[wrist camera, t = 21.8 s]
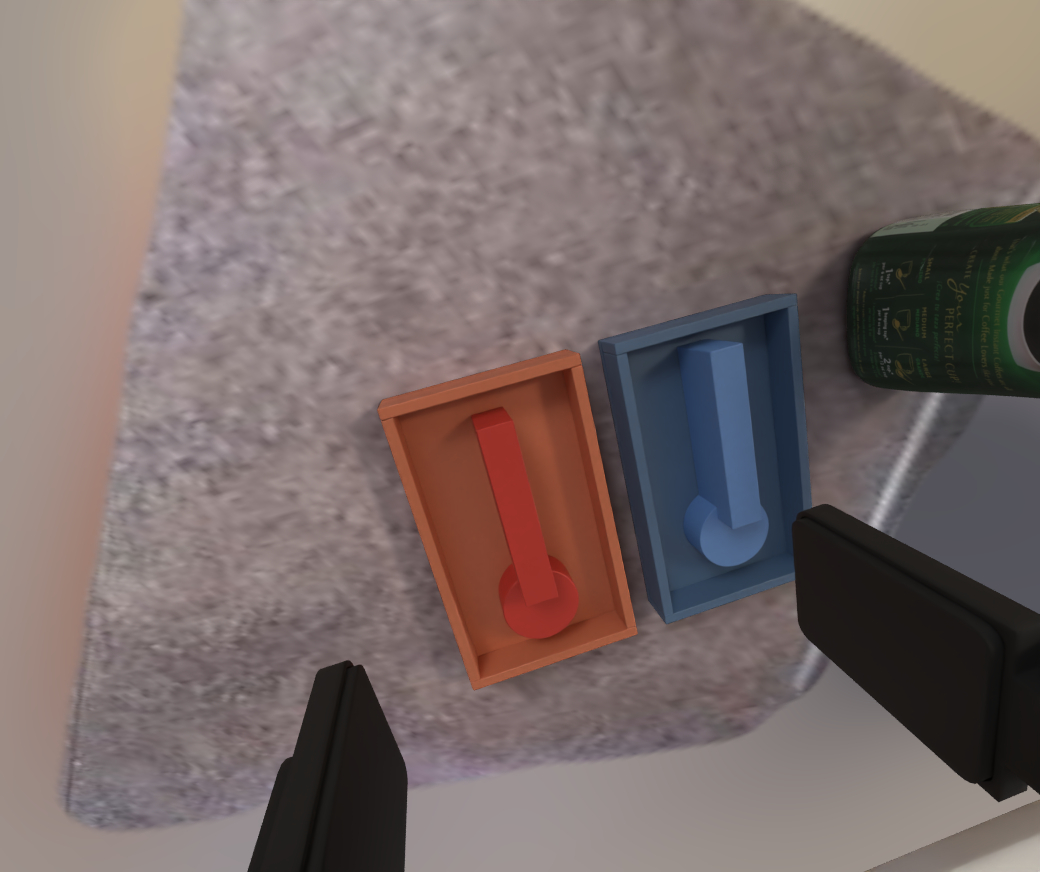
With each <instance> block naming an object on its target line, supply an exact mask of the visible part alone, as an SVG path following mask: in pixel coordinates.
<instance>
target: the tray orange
mask: <svg viewBox="0 0 1040 872" xmlns="http://www.w3.org/2000/svg"><path fill="white" fill-rule="evenodd" d="M581 364H582V363H581V358H580V354H579V353H576V352H572V351H569V350H566V349H565V350H562V351H558V352H554V353H551V354H547V355H543V356H540V357H536V358H533V359H529V360H525V361H522V362H518V363H514V364H511V365H507V366H503V367H500V368H496V369H492V370H489V371H485V372H482V373H478V374H474V375H471V376H467V377H463V378H460V379H456V380H452V381H449V382H445V383H441V384H438V385H434V386H430V387H427V388H423V389H420V390H416V391H412V392H409V393H405V394H401V395H398V396H394V397H390V398H387V399H383V400H382V401H381V403H380V405H379V407H378V409H377V411H378V414H379V417H380V420H382V421H381V423H382V426H383V428H384V431H385V434H386V437H387V440H388V443H389V446H390V449H391V452H392V455H393V458H394V461H395V463H396V466H397V469H398V472H399V475H400V478H401V481H402V484H403V487H404V490H405V493H406V496H407V499H408V501H409V504H410V507H411V510H412V513H413V516H414V519H415V522H416V525H417V528H418V531H419V534H420V536H421V539H422V542H423V545H424V548H425V551H426V554H427V557H428V560H429V563H430V566H431V569H432V571H433V574H434V577H435V580H436V583H437V586H438V589H439V592H440V595H441V598H442V601H443V604H444V607H445V609H446V612H447V615H448V618H449V621H450V624H451V627H452V630H453V633H454V636H455V639H456V642H457V644H458V647H459V650H460V653H461V656H462V659H463V662H464V665H465V668H466V671H467V674H468V677H469V680H470V682H471V685H472V688H473V690H477V689H480V688H483V687H486V686H489V685H492V684H494V683H497V682H500V681H503V680H506V679H509V678H512V677H515V676H518V675H521V674H523V673H526V672H529V671H532V670H535V669H538V668H541V667H544V666H547V665H550V664H552V663H555V662H558V661H561V660H564V659H567V658H570V657H573V656H576V655H579V654H581V653H584V652H587V651H590V650H593V649H596V648H599V647H602V646H605V645H608V644H611V643H613V642H616V641H619V640H622V639H625V638H628V637H631V636H634V635H637V634H638V632H637V628H636V623H635V618H634V613H633V608H632V604H631V599H630V594H629V589H628V584H627V579H626V575H625V570H624V565H623V560H622V555H621V551H620V546H619V541H618V536H617V531H616V526H615V522H614V517H613V512H612V507H611V502H610V498H609V493H608V488H607V483H606V478H605V473H604V469H603V464H602V459H601V454H600V449H599V445H598V440H597V435H596V430H595V425H594V420H593V416H592V411H591V406H590V401H589V396H588V391H587V387H586V382H585V377H584V372H583V367H582V365H581ZM502 406H503V408H504V409H505V410H506V412H507V413H508V414H509V416H510V417H511V418H512V420H513V422H514V426H515V430H516V434H517V438H518V441H519V445H520V449H521V453H522V457H523V461H524V465H525V469H526V472H527V476H528V480H529V484H530V488H531V492H532V496H533V500H534V503H535V507H536V511H537V515H538V519H539V523H540V527H541V531H542V535H543V538H544V542H545V546H546V550H547V554H548V555H550V556H553V557H555V558H556V559H558V560H559V561H561V562H562V563H563V564H564V566H565V567H566V569H567V570H568V572H569V574H570V576H571V578H572V580H573V582H574V584H575V586H576V588H577V590H578V594H579V605H578V609H577V612H576V615H575V616H574V618H573V620H572V621H571V622H570V624H569V625H568V626H567V627H566V628H564V629H563V630H562V631H560V632H559V633H557V634H555V635H553V636H550V637H546V638H541V639H532V638H526V637H523V636H521V635H519V634H517V633H516V632H514V631H513V630H512V629H511V628H510V627H509V626H508V624H507V623H506V621H505V618H504V615H503V611H502V607H501V603H500V598H499V592H498V588H499V582H500V579H501V577H502V575H503V573H504V572H505V570H506V569H507V568H508V567H509V565H511V564H512V560H511V557H510V553H509V550H508V546H507V543H506V539H505V536H504V532H503V529H502V525H501V522H500V518H499V515H498V511H497V507H496V504H495V500H494V497H493V493H492V490H491V486H490V483H489V479H488V476H487V472H486V469H485V465H484V462H483V458H482V455H481V451H480V448H479V444H478V441H477V437H476V434H475V430H474V426H473V423H472V419H471V415H473V414H477V413H480V412H484V411H487V410H491V409H495V408H498V407H502Z"/></svg>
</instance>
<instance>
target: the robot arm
mask: <svg viewBox="0 0 1040 872" xmlns="http://www.w3.org/2000/svg"><path fill="white" fill-rule="evenodd" d="M792 541H793V555H794V569H795V584H796V598H797V612H798V623H799V626H800V628H801V630H802V632H803V634H804V635H805V636H806V637H807V638H808V640H809V641H811V642H812V643H813V644H814V645H815V646H816V647H817V648H818V649H819V650H821V651H822V652H823V653H824V654H825V655H826V656H827V657H828V658H829V659H831V660H832V661H833V662H834V663H835V664H836V665H837V666H838V667H839V668H841V669H842V670H843V671H844V672H845V673H846V674H847V675H848V676H850V678H852V679H853V680H854V681H855V682H856V683H857V684H858V685H859V686H861V687H862V688H863V689H864V690H865V691H866V692H867V693H868V694H869V695H870V696H872V697H873V698H874V699H875V700H876V701H877V702H878V703H879V704H880V705H882V706H883V707H884V708H885V709H886V710H887V711H888V712H889V713H891V714H892V715H893V716H894V717H895V718H896V719H897V720H898V721H899V722H900V723H902V724H903V725H904V726H905V727H906V728H907V729H908V730H909V731H910V732H912V733H913V734H914V735H915V736H916V737H917V738H918V739H919V740H920V741H921V742H922V743H924V744H925V745H926V746H927V747H928V748H929V749H930V750H932V751H933V752H934V753H935V754H936V755H937V756H938V757H939V758H940V759H941V760H943V761H944V762H945V763H946V764H947V765H948V766H949V767H950V768H951V769H952V770H954V771H955V772H956V773H957V774H958V775H959V776H961V777H962V778H963V779H964V780H966V781H968V782H970V783H974V784H976V783H978V784H979V785H980V786H981V787H982V788H983V789H984V790H985V791H987V792H988V793H989V794H990V795H991V796H992V797H993V798H994V799H996V800H997V801H998V802H1000V801H1003V800H1005V799H1007V798H1010V797H1012V796H1015V795H1017V794H1019V793H1022V792H1024V791H1027V786H1028V785H1029V786H1030V787H1031V788H1033V789H1034V790H1035V791H1036V792H1037V793H1039V794H1040V614H1038V613H1036V612H1034V611H1032V610H1030V609H1029V608H1026V607H1024V606H1023V605H1021V604H1019V603H1017V602H1015V601H1013V600H1011V599H1009V598H1007V597H1006V596H1004V595H1001V594H1000V593H998V592H996V591H994V590H992V589H990V588H988V587H986V586H984V585H983V584H981V583H979V582H977V581H975V580H973V579H971V578H969V577H967V576H965V575H963V574H961V573H960V572H958V571H956V570H954V569H952V568H950V567H948V566H946V565H944V564H942V563H940V562H938V561H937V560H935V559H933V558H931V557H929V556H927V555H925V554H923V553H921V552H919V551H917V550H915V549H914V548H912V547H910V546H908V545H906V544H904V543H902V542H900V541H898V540H896V539H894V538H892V537H891V536H889V535H887V534H885V533H883V532H881V531H879V530H877V529H875V528H873V527H871V526H869V525H868V524H866V523H864V522H862V521H860V520H858V519H856V518H854V517H852V516H850V515H848V514H846V513H845V512H843V511H841V510H839V509H837V508H835V507H833V506H831V505H828V504H822V505H819V506H816V507H813V508H810V509H807V510H804V511H801V512H799V513H798V514H797V517H796V521H794V522H793V523H792ZM407 785H408V780H407V771H406V766H405V762H404V760H403V757H402V755H401V753H400V750H399V748H398V746H397V743H396V741H395V739H394V736H393V734H392V732H391V729H390V727H389V725H388V722H387V720H386V718H385V716H384V713H383V711H382V709H381V706H380V704H379V702H378V699H377V697H376V695H375V692H374V690H373V688H372V685H371V683H370V681H369V679H368V676H367V674H366V672H365V669H364V667H363V666H362V665H357V666H354V665H353V664H352V662H351V661H348V660H347V661H344V662H341V663H338V664H335V665H332V666H329V667H326V668H323V669H320V670H319V671H318V672H317V674H316V677H315V681H314V684H313V688H312V691H311V695H310V698H309V702H308V705H307V709H306V712H305V716H304V719H303V723H302V726H301V730H300V733H299V737H298V740H297V743H296V747H295V750H294V754H293V757H290V758H287V759H286V760H285V761H284V762H283V763H282V764H281V767H280V769H279V771H278V774H277V777H276V781H275V784H274V787H273V790H272V793H271V797H270V800H269V803H268V806H267V810H266V813H265V816H264V819H263V823H262V826H261V829H260V833H259V836H258V839H257V842H256V845H255V849H254V852H253V856H252V858H251V862H250V865H249V868H248V872H404V866H405V838H406V813H407ZM865 872H1040V800H1038V801H1035V802H1032V803H1030V804H1027V805H1025V806H1022V807H1020V808H1018V809H1015V810H1012V811H1010V812H1008V813H1005V814H1003V815H1001V816H998V817H996V818H993V819H991V820H988V821H986V822H983V823H981V824H979V825H976V826H974V827H971V828H969V829H967V830H964V831H962V832H959V833H957V834H954V835H952V836H949V837H947V838H945V839H942V840H940V841H937V842H935V843H932V844H930V845H928V846H925V847H923V848H920V849H918V850H916V851H913V852H911V853H908V854H906V855H904V856H901V857H899V858H896V859H894V860H891V861H889V862H886V863H884V864H882V865H879V866H877V867H874V868H872V869H870V870H867V871H865Z"/></svg>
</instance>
